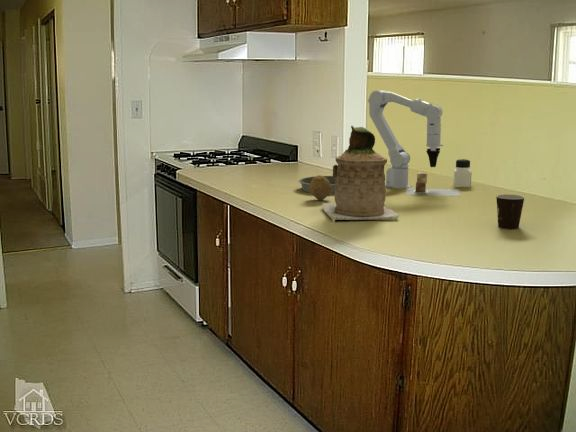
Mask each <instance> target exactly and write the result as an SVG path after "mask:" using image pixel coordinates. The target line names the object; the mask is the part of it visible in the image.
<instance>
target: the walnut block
mask: <svg viewBox="0 0 576 432" xmlns="http://www.w3.org/2000/svg"><path fill="white" fill-rule="evenodd" d="M426 184H427V183H417V181H416V182H415V188H416V192H420V193H425V192H426V189H427V185H426Z"/></svg>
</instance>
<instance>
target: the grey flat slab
mask: <svg viewBox="0 0 576 432" xmlns="http://www.w3.org/2000/svg"><path fill="white" fill-rule="evenodd" d="M405 195H407V196H408V195H409V196H435V197H437V196H438V197H461V193H460V189H448V188H447V189H446V188H426V192H425V193H420V192H416V187H414V188H412V187H407V188H406V191H405Z"/></svg>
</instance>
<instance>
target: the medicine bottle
mask: <svg viewBox="0 0 576 432" xmlns="http://www.w3.org/2000/svg"><path fill="white" fill-rule="evenodd" d="M470 168H471V160H469V159H466V158H464V159H463V158H460V159H456V161H455V168H454V170H453V187H454V188H456V187H457V188H471V186H472V171H471V169H470Z"/></svg>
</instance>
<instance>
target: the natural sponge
mask: <svg viewBox="0 0 576 432" xmlns="http://www.w3.org/2000/svg"><path fill="white" fill-rule="evenodd" d="M324 176H325V175H320V174H319V175H316V177H314V178H313V179H312V181H311V183H310V186H309V190H310V192H311V193H310V192H309V193H310V194H312V196H313V197H314V198H315V199H317V200H318V201H323V200H325V199H326V198H327V197H329V196H330V195H332V194H331V193H332V187H331V184H330V182H329V180H328V179H327V178H326V177H324Z"/></svg>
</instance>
